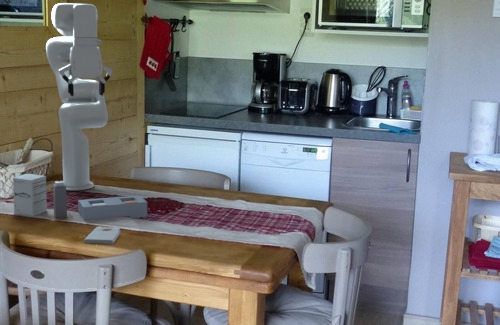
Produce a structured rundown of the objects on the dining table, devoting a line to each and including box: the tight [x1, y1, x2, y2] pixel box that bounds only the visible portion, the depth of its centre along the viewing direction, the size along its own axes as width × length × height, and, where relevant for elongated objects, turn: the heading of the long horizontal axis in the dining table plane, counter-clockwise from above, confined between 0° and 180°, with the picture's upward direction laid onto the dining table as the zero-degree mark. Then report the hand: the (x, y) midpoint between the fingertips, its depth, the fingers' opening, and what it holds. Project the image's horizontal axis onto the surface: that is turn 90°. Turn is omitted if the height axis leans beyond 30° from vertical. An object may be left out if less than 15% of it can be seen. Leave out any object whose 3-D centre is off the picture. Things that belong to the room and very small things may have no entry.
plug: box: [52, 180, 68, 218], centre depth 206 cm, size 3×3×11 cm
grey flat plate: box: [46, 211, 75, 222], centre depth 207 cm, size 8×7×1 cm
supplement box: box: [12, 173, 48, 217], centre depth 210 cm, size 7×7×13 cm
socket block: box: [77, 194, 148, 221], centre depth 212 cm, size 9×20×5 cm, turn 114°
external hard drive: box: [83, 225, 123, 245], centre depth 192 cm, size 2×8×12 cm
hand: (86, 95), depth 220 cm, fingers open, 9 cm apart
